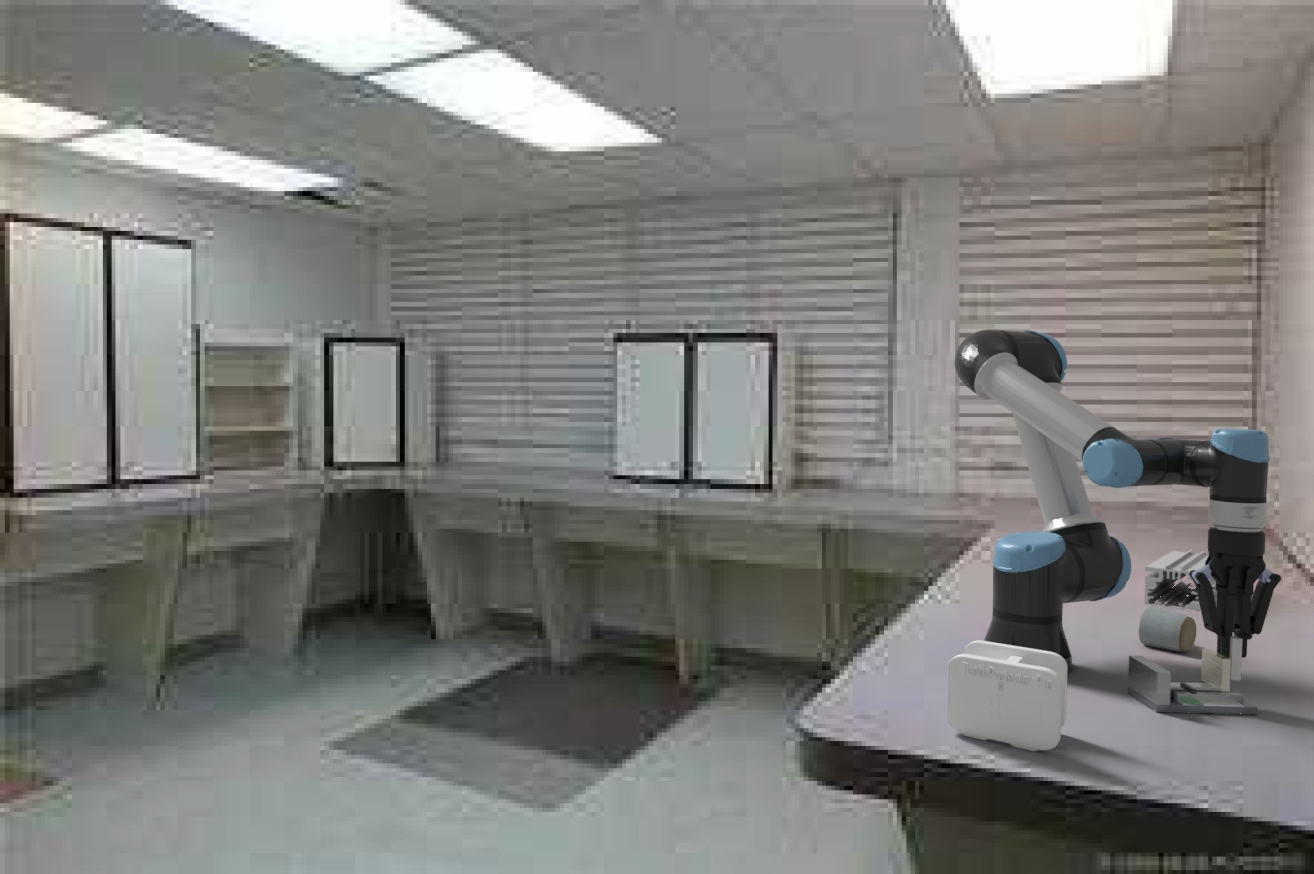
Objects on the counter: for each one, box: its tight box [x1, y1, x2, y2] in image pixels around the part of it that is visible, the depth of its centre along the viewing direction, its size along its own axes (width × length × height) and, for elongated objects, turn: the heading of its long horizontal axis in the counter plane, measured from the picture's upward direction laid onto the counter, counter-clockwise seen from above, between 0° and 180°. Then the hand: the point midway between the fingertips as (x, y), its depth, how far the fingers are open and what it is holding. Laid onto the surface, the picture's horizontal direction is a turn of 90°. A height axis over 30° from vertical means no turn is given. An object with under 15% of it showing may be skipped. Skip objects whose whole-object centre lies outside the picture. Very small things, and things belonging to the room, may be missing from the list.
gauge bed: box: [1127, 655, 1259, 715], centre depth 140 cm, size 15×9×6 cm, turn 87°
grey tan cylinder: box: [1138, 605, 1198, 653], centre depth 173 cm, size 11×8×8 cm
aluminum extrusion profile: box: [1144, 549, 1217, 612], centre depth 218 cm, size 14×31×10 cm, turn 140°
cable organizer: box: [945, 639, 1068, 752], centre depth 126 cm, size 15×11×12 cm
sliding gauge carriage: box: [1170, 648, 1231, 696], centre depth 139 cm, size 8×7×6 cm
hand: (1230, 677), depth 140 cm, fingers closed
